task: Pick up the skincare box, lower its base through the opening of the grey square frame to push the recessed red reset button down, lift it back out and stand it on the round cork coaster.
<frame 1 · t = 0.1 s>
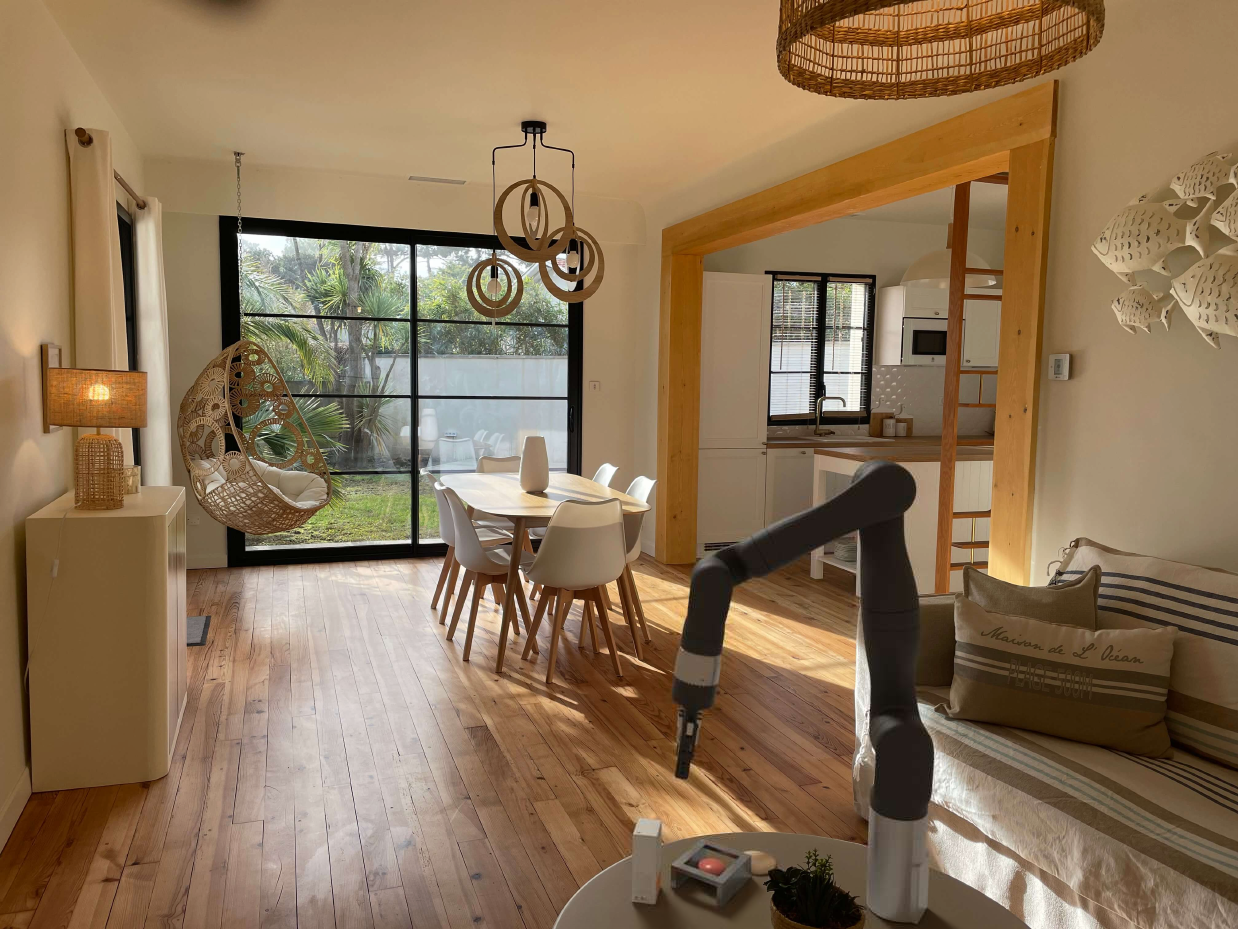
hand: (681, 767, 148), 22 cm above the table, tool pointing down, fingers open, 8 cm apart
grey square frame: (711, 881, 154), on the table
coaster: (756, 864, 160), on the table
skincare box: (646, 895, 150), on the table
button: (711, 869, 154), point 2 cm above the table, slide at 0.0 cm
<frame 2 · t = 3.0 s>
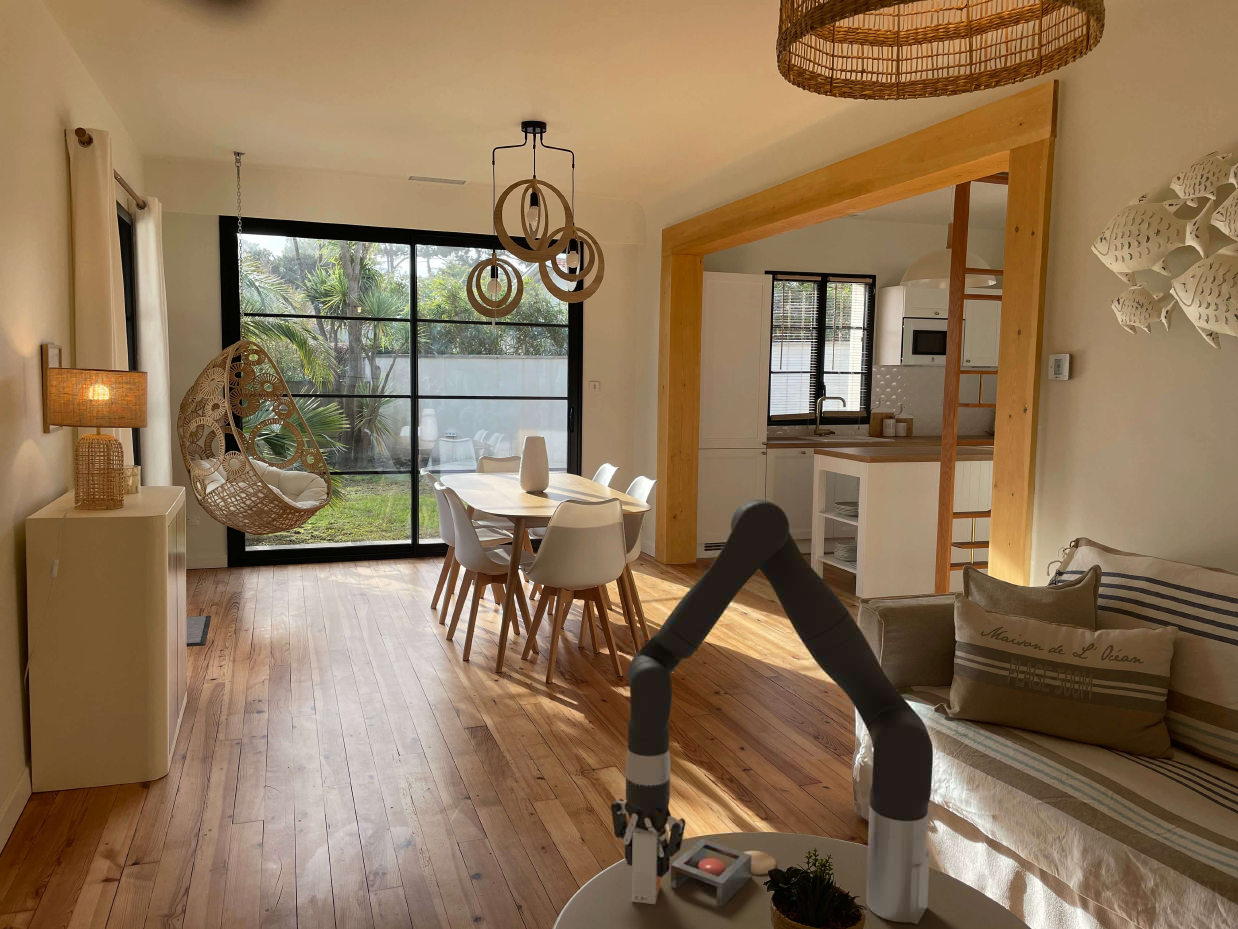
hand: (646, 868, 149), 5 cm above the table, tool pointing down, fingers closed on skincare box, 5 cm apart
skincare box: (646, 895, 150), on the table, touching gripper
everything else where it was.
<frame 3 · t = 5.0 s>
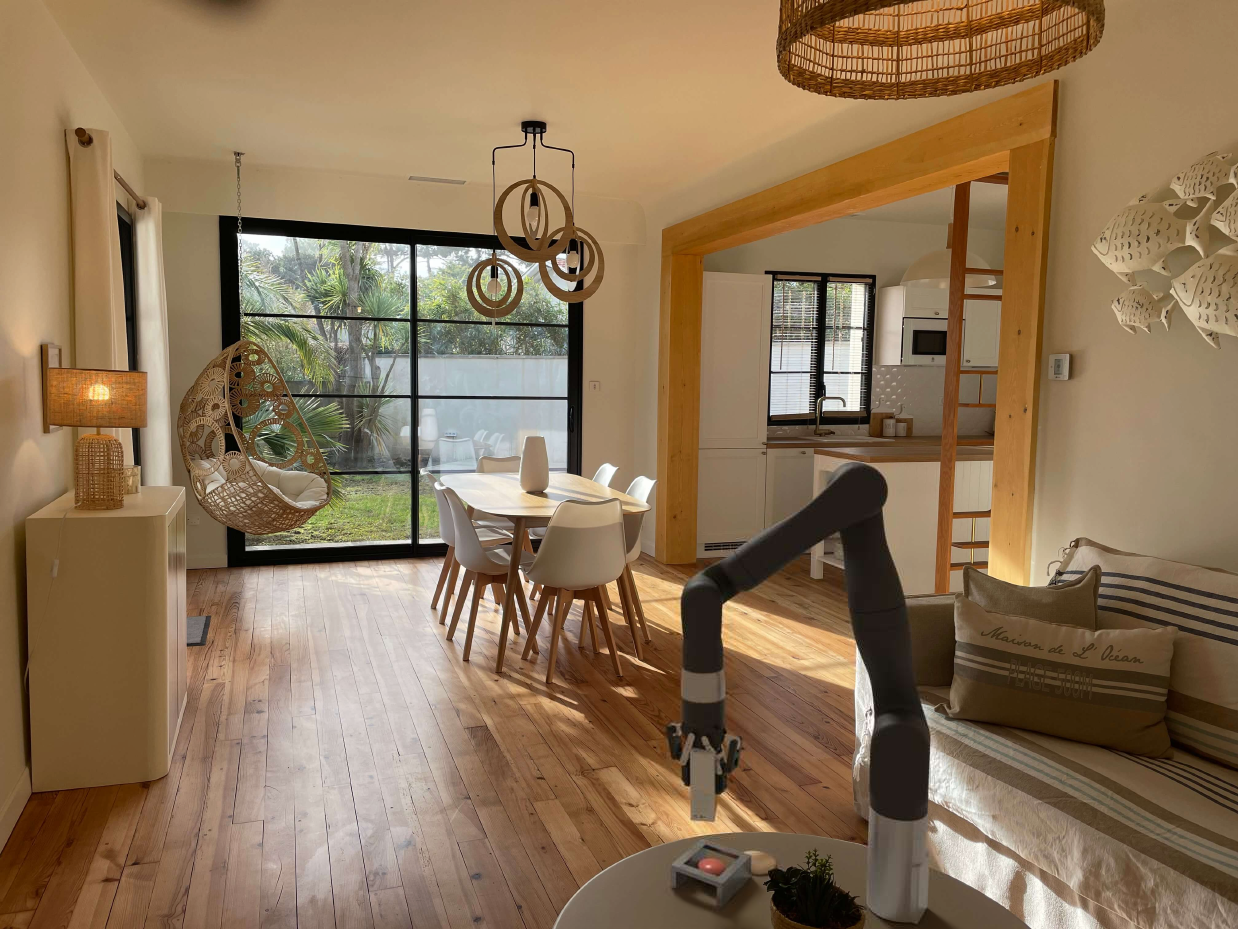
hand: (704, 788, 151), 18 cm above the table, tool pointing down, fingers closed on skincare box, 5 cm apart
skincare box: (704, 815, 151), point 13 cm above the table, touching gripper
everything else where it was.
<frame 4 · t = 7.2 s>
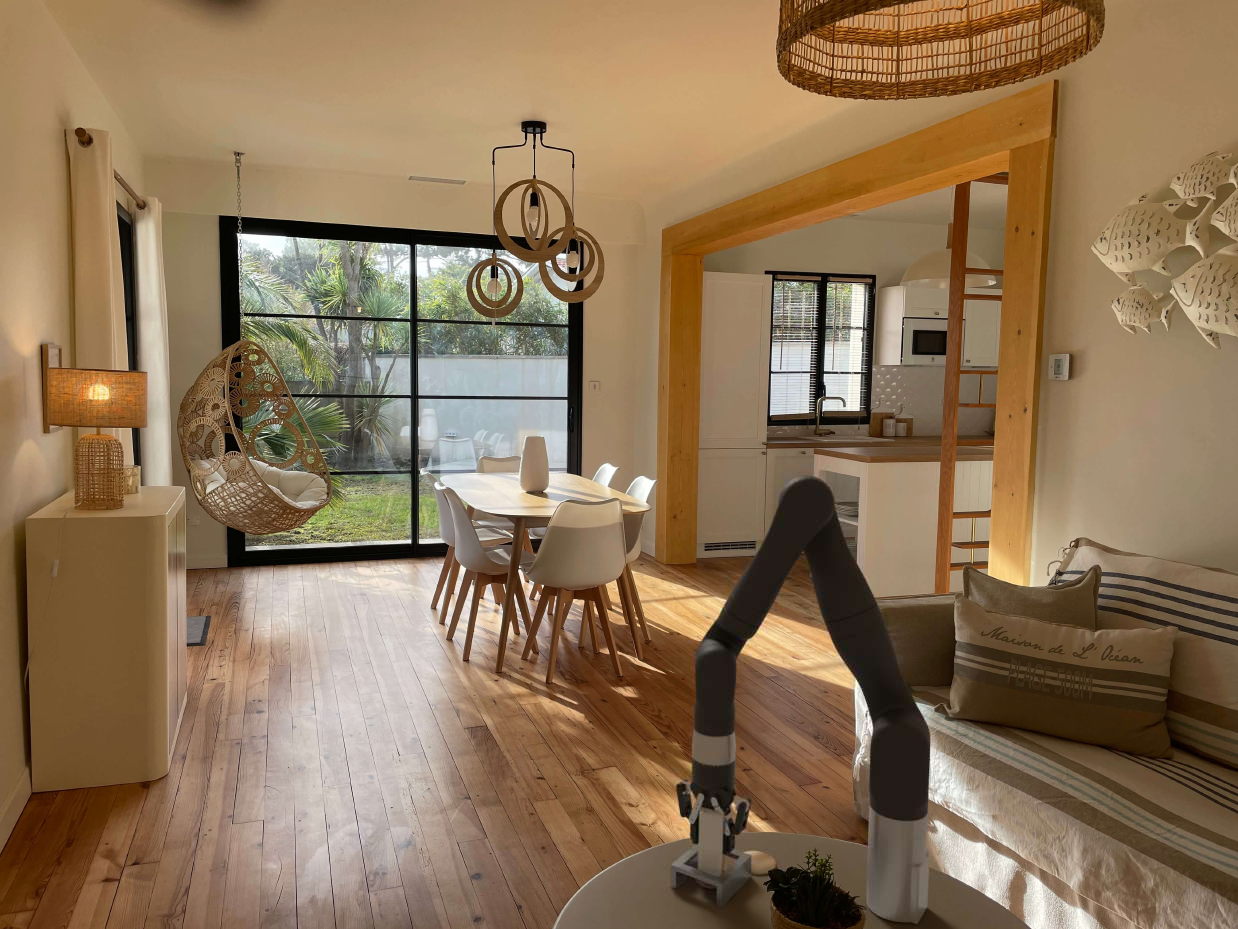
hand: (711, 847, 153), 6 cm above the table, tool pointing down, fingers closed on skincare box, 5 cm apart
skincare box: (711, 873, 154), point 2 cm above the table, touching button, gripper
button: (711, 876, 154), point 1 cm above the table, slide at 1.2 cm, touching skincare box
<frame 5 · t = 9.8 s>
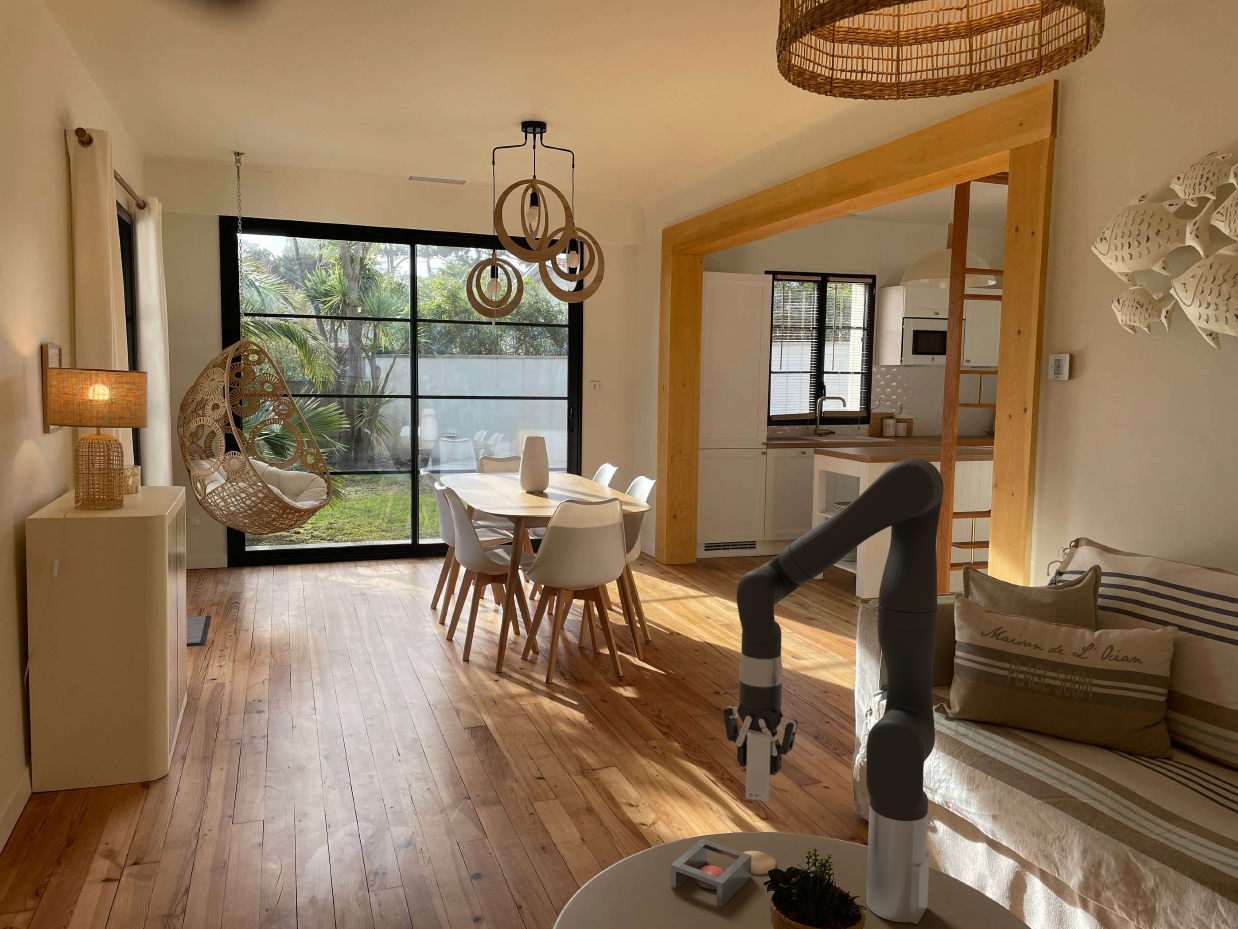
hand: (758, 769, 158), 18 cm above the table, tool pointing down, fingers closed on skincare box, 5 cm apart
skincare box: (758, 794, 158), point 13 cm above the table, touching gripper
button: (711, 876, 154), point 1 cm above the table, slide at 1.3 cm
when the fingers open (6 cm above the table, at t = 12.3 s): skincare box drops 1 cm, resting on coaster.
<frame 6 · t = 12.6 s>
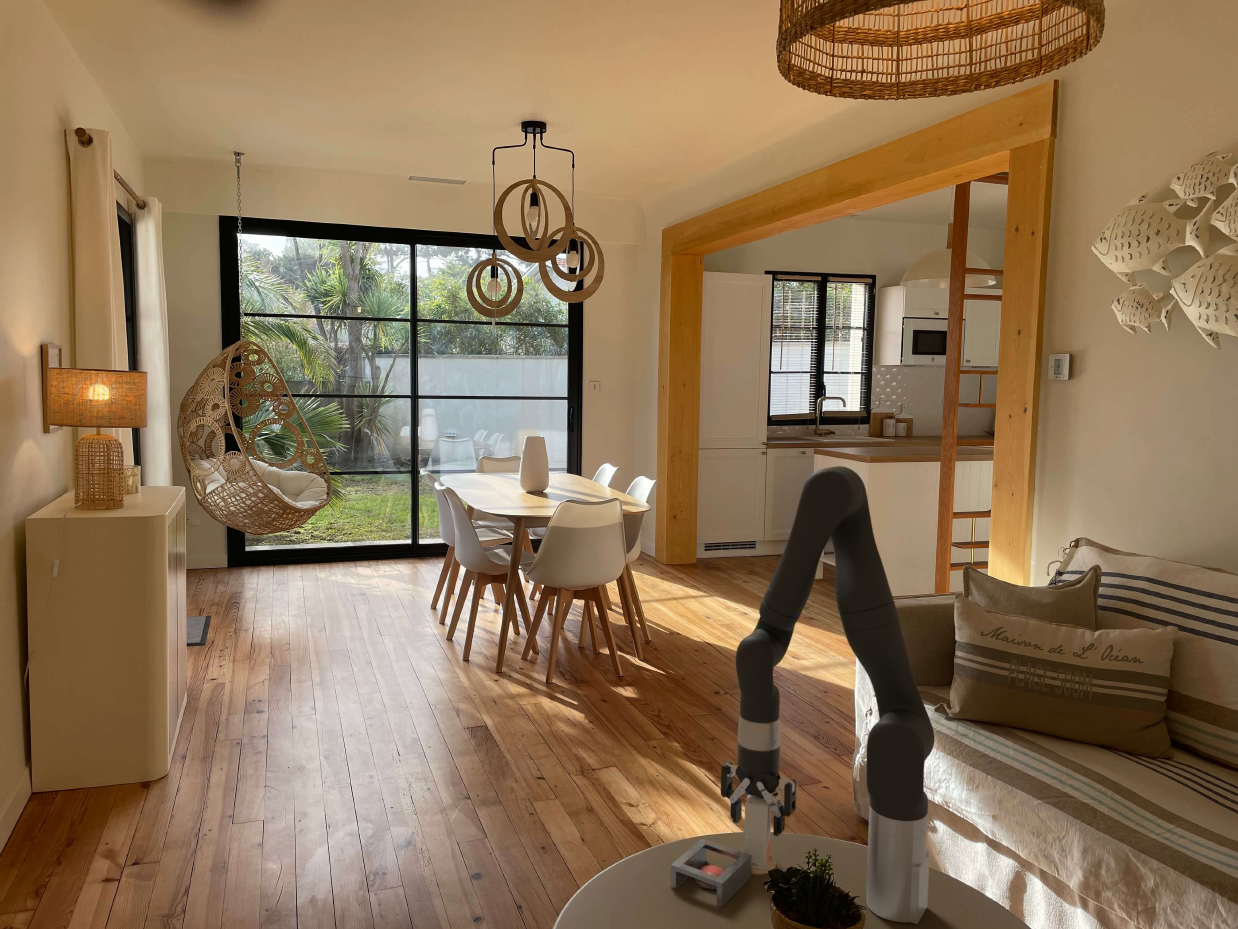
hand: (756, 827, 159), 7 cm above the table, tool pointing down, fingers open, 7 cm apart
skincare box: (756, 861, 160), resting on coaster
everything else where it was.
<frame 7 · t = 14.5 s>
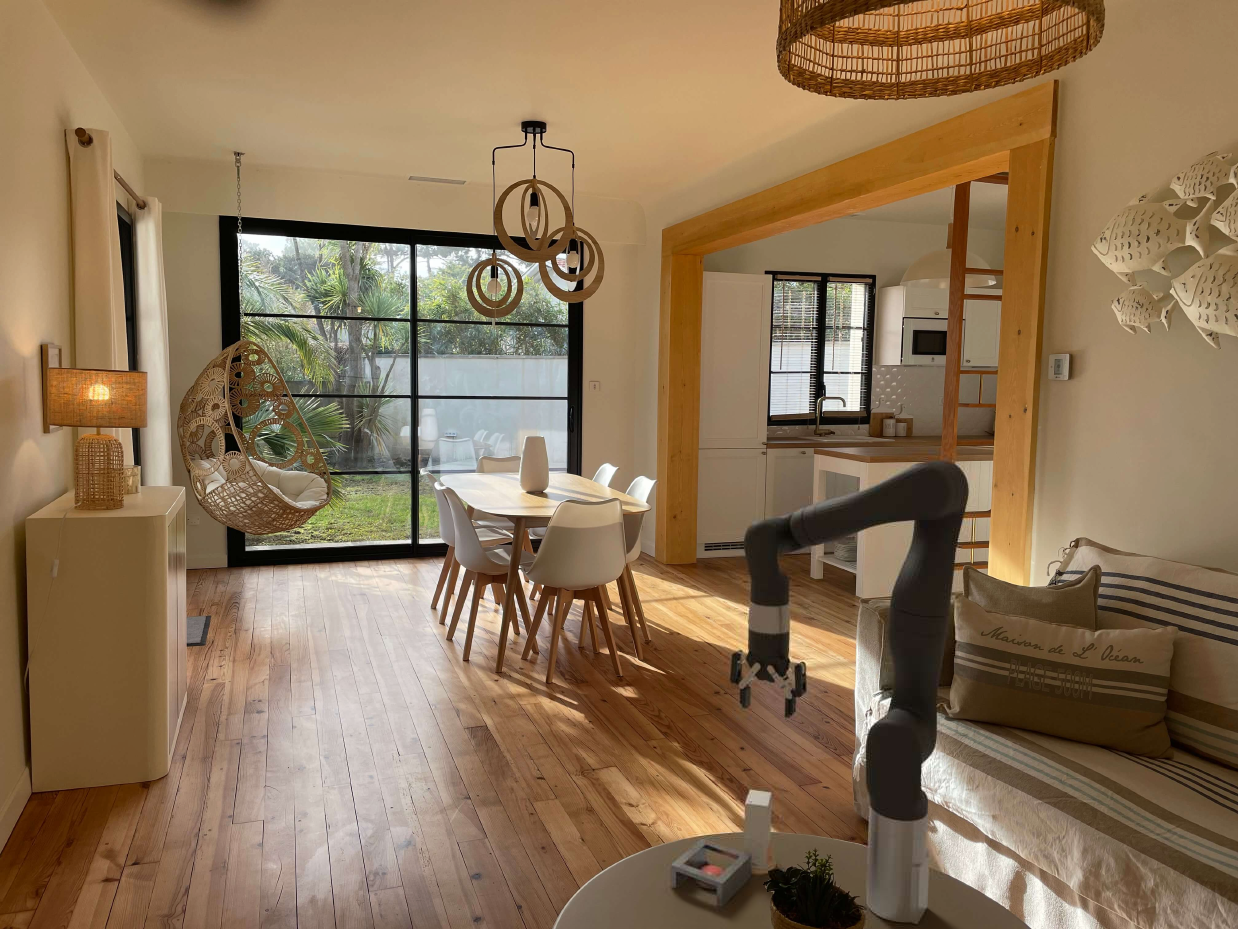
hand: (767, 712, 162), 27 cm above the table, tool pointing down, fingers open, 8 cm apart
nothing on the table moved.
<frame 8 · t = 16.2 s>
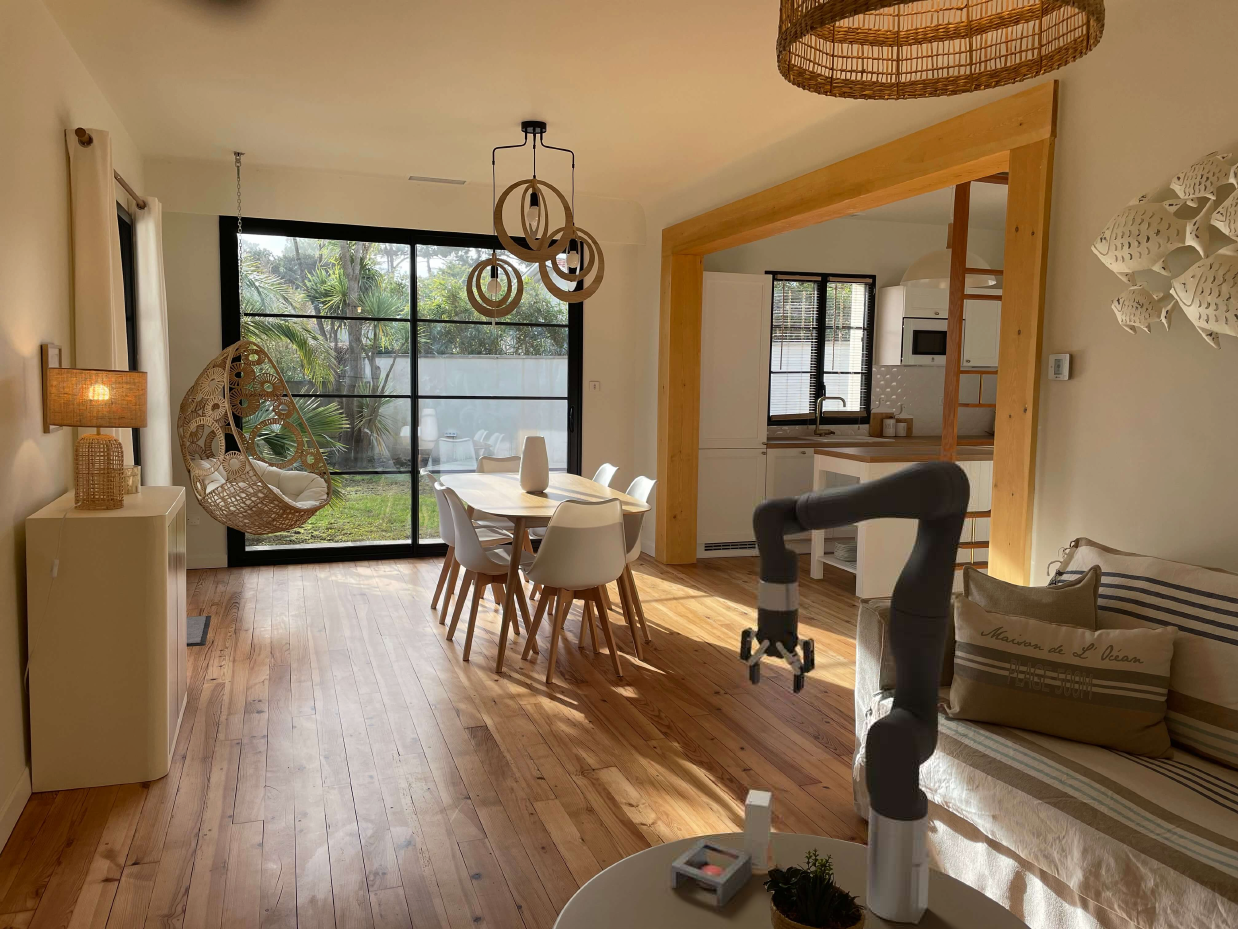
hand: (775, 688, 165), 30 cm above the table, tool pointing down, fingers open, 8 cm apart
nothing on the table moved.
at the end: button slide at 1.3 cm; skincare box 0.2 cm from the coaster (horizontally); skincare box tilted 0° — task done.
